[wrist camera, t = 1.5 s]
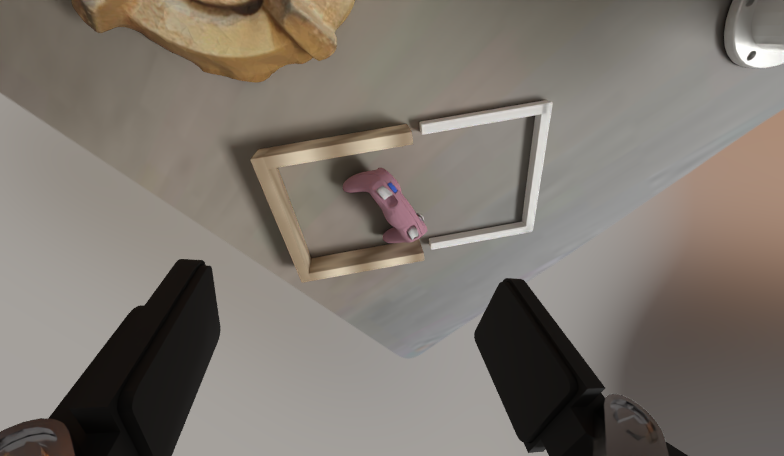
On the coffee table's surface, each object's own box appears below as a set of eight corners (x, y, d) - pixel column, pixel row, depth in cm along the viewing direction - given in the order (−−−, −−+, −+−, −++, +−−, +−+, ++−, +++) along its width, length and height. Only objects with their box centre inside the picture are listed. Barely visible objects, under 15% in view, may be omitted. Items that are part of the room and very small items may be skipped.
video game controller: (408, 218, 39) (441, 233, 33) (383, 242, 38) (413, 262, 32) (366, 157, 34) (396, 162, 28) (336, 183, 33) (361, 194, 27)
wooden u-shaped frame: (406, 123, 31) (411, 131, 28) (419, 246, 40) (424, 260, 37) (258, 149, 30) (250, 159, 28) (304, 266, 39) (301, 282, 37)
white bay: (546, 100, 31) (552, 102, 30) (528, 226, 40) (532, 231, 39) (419, 121, 31) (421, 124, 30) (429, 244, 40) (431, 249, 39)
